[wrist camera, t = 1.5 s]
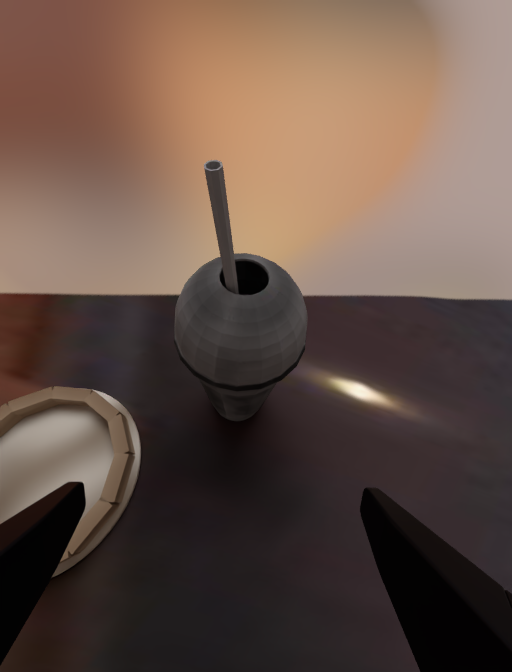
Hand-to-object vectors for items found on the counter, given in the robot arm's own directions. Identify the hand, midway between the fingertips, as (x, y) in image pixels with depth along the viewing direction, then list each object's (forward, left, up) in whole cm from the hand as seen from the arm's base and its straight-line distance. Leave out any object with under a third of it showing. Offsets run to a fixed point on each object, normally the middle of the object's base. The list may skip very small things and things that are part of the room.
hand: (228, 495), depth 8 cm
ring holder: (+12, +6, -14) cm, 19 cm away
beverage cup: (+4, -7, -14) cm, 16 cm away
